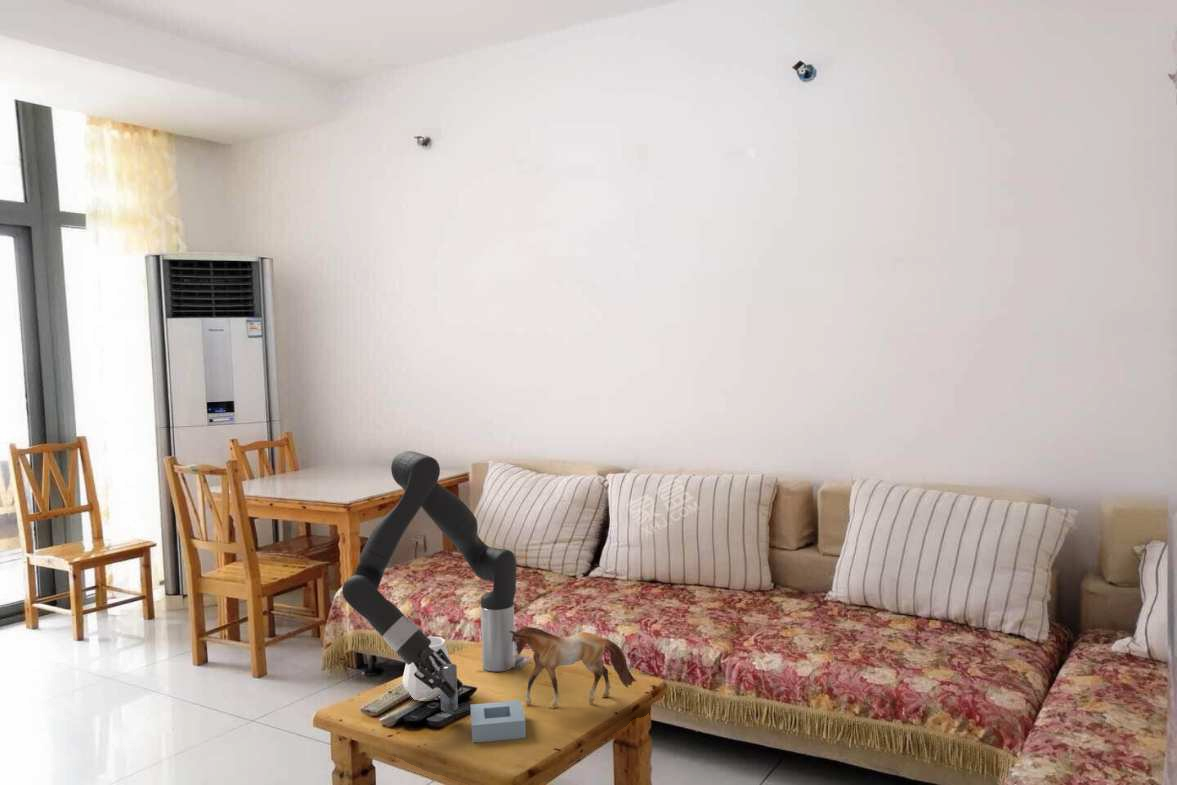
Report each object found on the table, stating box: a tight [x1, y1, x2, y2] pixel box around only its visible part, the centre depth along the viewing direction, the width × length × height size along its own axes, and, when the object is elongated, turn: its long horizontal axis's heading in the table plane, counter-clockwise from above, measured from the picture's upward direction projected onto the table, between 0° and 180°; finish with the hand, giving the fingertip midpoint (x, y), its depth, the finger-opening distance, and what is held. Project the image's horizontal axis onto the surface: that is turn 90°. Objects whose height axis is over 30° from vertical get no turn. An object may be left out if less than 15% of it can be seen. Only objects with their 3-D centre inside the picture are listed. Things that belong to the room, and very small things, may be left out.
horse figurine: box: [509, 626, 637, 707], centre depth 216 cm, size 31×8×21 cm, turn 100°
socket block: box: [470, 699, 527, 743], centre depth 202 cm, size 12×12×4 cm
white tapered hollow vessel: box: [402, 636, 452, 701], centre depth 224 cm, size 13×13×14 cm
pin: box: [439, 663, 459, 713], centre depth 206 cm, size 4×4×10 cm
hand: (456, 691), depth 206 cm, fingers closed on pin, 4 cm apart
